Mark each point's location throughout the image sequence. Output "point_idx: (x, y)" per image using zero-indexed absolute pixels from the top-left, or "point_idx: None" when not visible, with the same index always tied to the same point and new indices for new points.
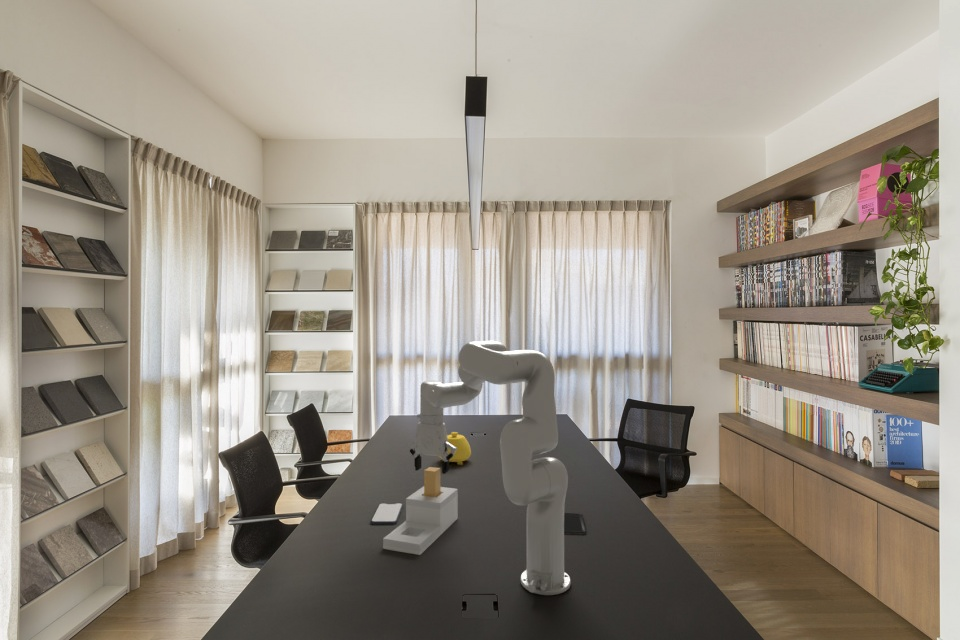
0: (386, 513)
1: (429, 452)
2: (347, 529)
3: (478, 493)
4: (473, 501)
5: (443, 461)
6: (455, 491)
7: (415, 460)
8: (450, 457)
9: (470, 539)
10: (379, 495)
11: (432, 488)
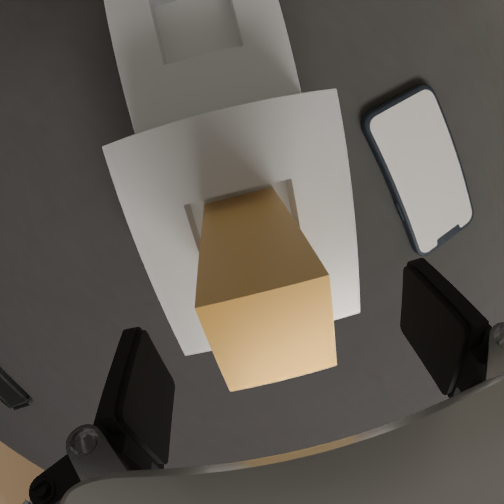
0: (426, 162)
1: (291, 500)
2: (449, 28)
3: (264, 422)
4: (242, 389)
5: (117, 428)
6: (175, 332)
7: (474, 309)
8: (49, 472)
9: (47, 173)
10: (491, 275)
11: (223, 227)
